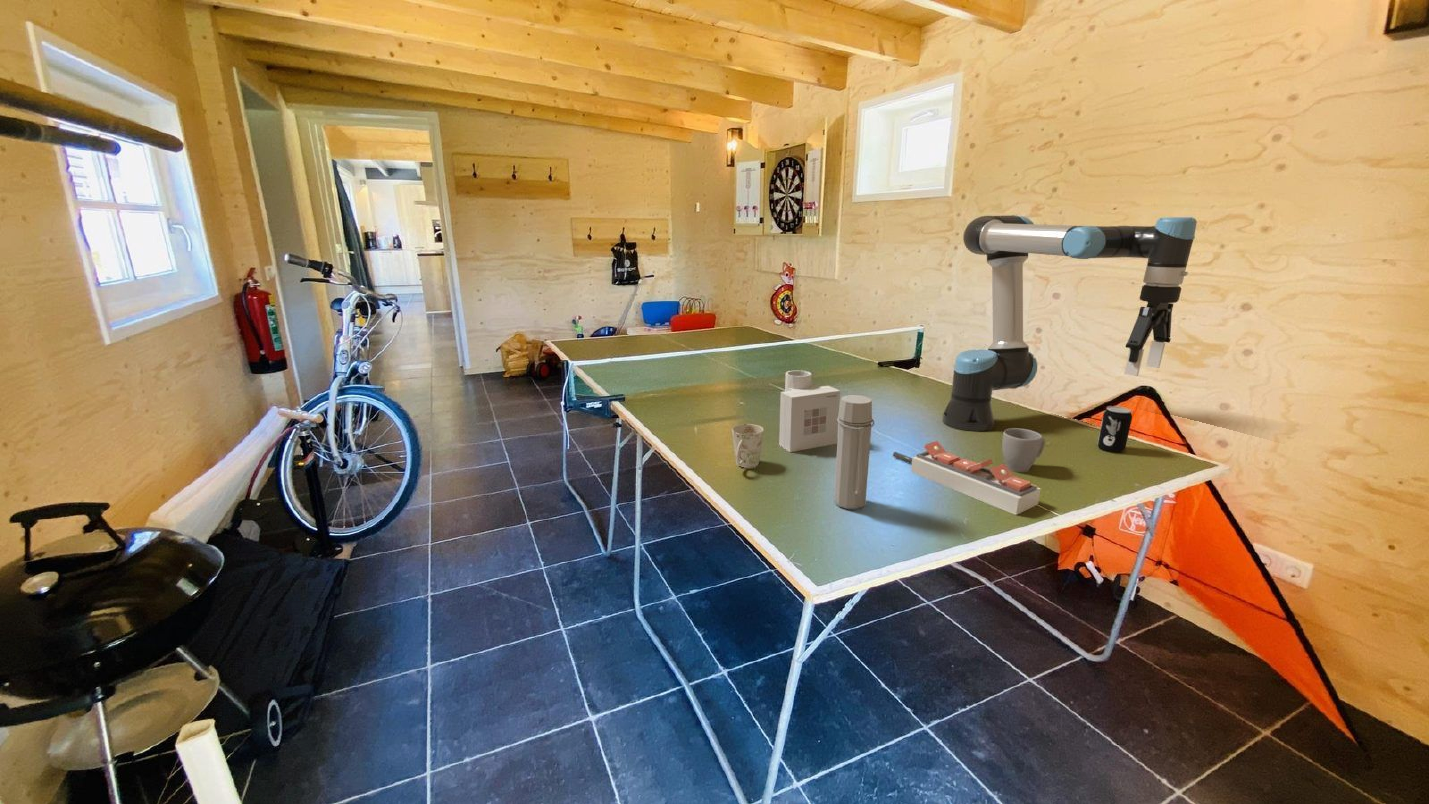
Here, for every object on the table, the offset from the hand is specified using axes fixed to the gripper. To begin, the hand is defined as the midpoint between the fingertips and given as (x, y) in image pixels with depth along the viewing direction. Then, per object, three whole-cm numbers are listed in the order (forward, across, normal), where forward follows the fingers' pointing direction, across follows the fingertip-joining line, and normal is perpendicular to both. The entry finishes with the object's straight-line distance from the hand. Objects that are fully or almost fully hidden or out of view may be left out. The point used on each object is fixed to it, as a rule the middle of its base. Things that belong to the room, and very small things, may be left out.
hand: (1142, 370), depth 141 cm
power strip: (+26, -44, +20) cm, 55 cm away
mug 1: (+26, -81, +58) cm, 103 cm away
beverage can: (+26, +10, +6) cm, 28 cm away
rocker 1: (+20, -44, +25) cm, 54 cm away
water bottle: (+26, -75, +26) cm, 84 cm away
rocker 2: (+20, -45, +7) cm, 50 cm away
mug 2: (+26, -22, +14) cm, 37 cm away
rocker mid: (+20, -44, +16) cm, 51 cm away
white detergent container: (+26, -55, +66) cm, 89 cm away
